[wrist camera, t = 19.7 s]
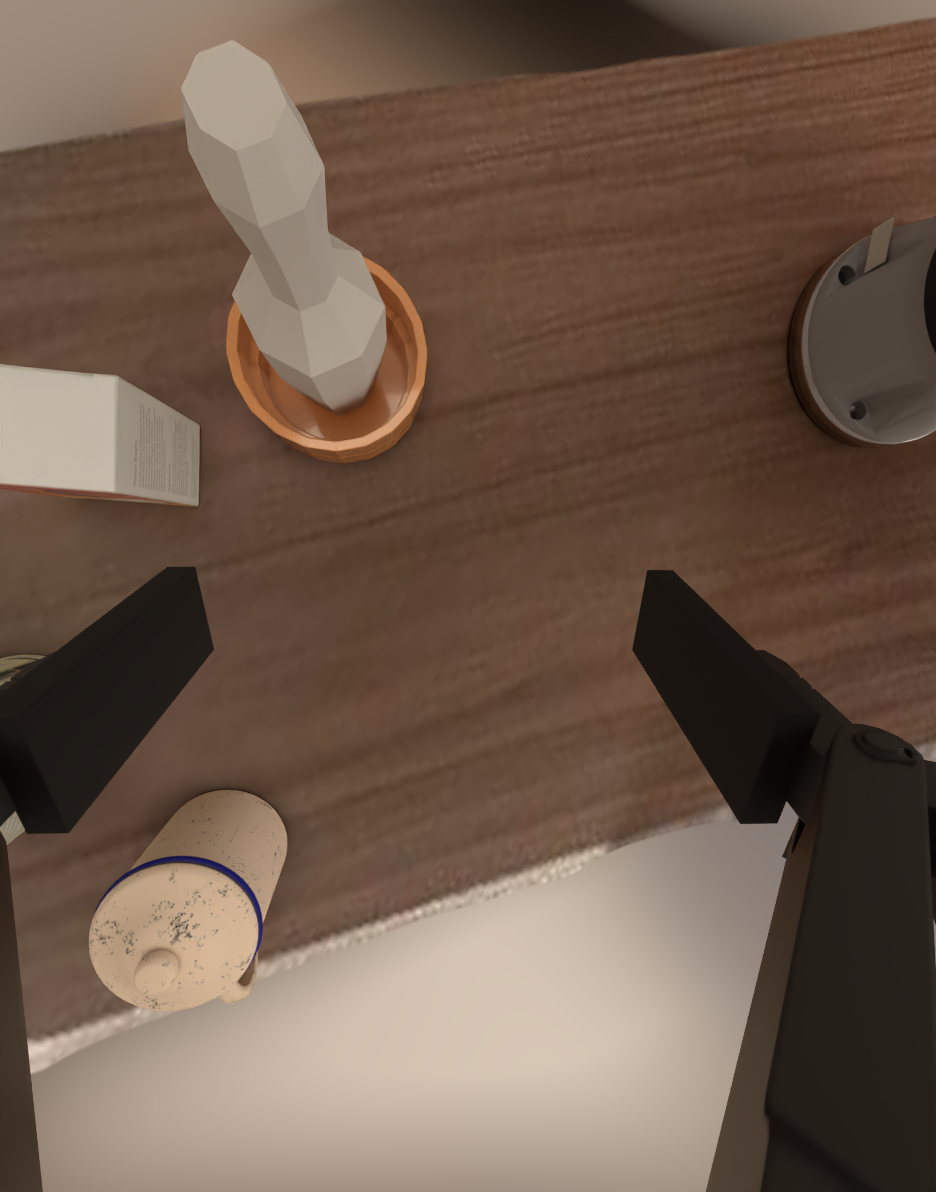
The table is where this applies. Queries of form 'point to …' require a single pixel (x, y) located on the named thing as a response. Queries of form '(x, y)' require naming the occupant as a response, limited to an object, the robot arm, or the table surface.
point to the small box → (94, 439)
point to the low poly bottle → (283, 230)
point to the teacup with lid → (192, 906)
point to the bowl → (319, 427)
